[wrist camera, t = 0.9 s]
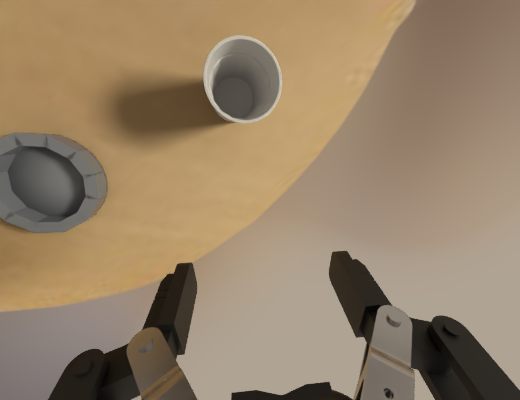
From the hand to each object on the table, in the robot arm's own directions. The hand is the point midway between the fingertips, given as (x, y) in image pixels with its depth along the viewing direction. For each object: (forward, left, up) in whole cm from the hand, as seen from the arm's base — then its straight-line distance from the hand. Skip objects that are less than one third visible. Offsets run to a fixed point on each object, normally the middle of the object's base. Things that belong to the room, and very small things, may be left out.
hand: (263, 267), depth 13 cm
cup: (-11, +6, -26) cm, 29 cm away
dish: (-12, -22, -26) cm, 35 cm away
